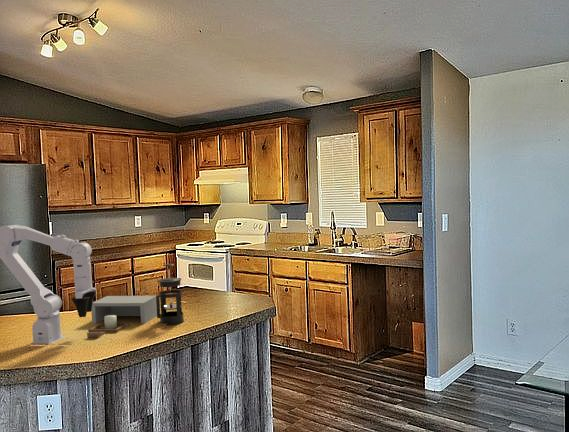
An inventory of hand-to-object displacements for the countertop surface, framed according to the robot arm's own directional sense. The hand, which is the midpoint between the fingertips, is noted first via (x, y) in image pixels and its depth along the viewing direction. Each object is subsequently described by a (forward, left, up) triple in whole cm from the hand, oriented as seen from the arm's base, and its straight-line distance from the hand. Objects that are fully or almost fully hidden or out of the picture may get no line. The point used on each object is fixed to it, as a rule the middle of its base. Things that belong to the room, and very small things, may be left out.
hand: (85, 314), depth 186 cm
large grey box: (+24, -3, -9) cm, 26 cm away
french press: (+22, -23, -9) cm, 33 cm away
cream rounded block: (+11, -3, -8) cm, 15 cm away
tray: (+6, -3, -9) cm, 12 cm away
